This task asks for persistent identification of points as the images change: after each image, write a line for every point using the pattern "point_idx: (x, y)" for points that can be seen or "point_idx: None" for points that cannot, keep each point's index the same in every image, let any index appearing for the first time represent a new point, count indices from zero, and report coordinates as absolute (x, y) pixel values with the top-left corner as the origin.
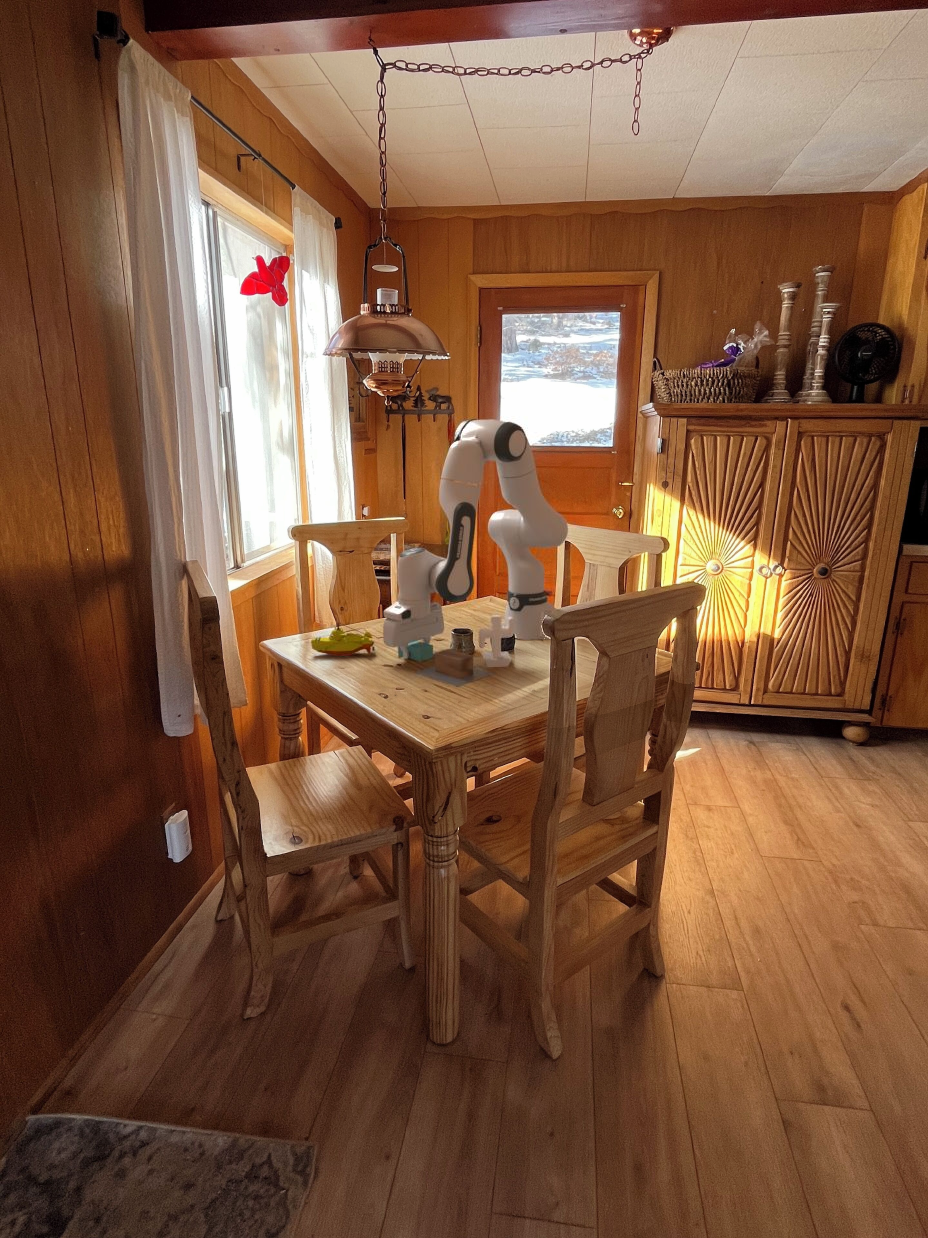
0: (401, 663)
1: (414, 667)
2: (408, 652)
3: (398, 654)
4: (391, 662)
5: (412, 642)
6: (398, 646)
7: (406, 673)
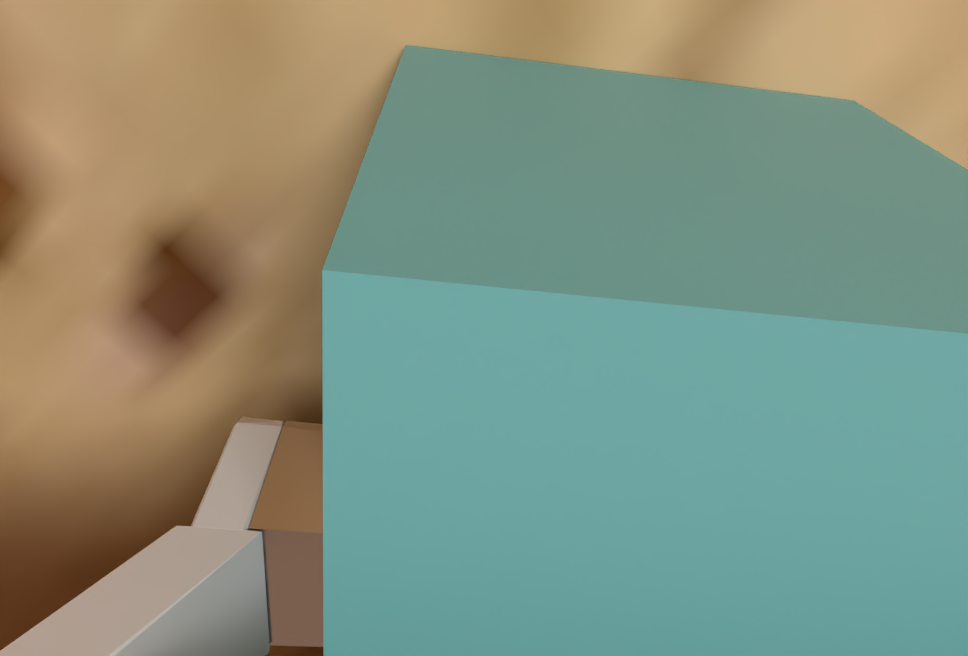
0: (271, 272)
1: None
2: (257, 646)
3: (393, 87)
4: (136, 30)
5: (761, 646)
6: (355, 212)
7: (17, 605)
